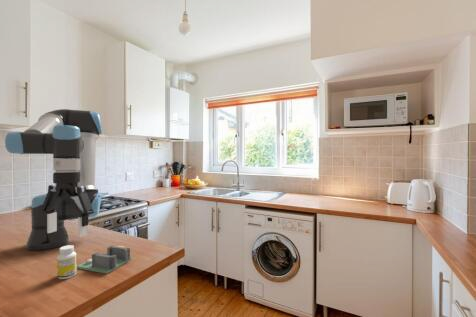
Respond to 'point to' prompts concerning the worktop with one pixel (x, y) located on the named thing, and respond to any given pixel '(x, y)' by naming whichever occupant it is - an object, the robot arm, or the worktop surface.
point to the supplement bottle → (66, 262)
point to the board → (88, 266)
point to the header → (110, 257)
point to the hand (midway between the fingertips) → (67, 233)
